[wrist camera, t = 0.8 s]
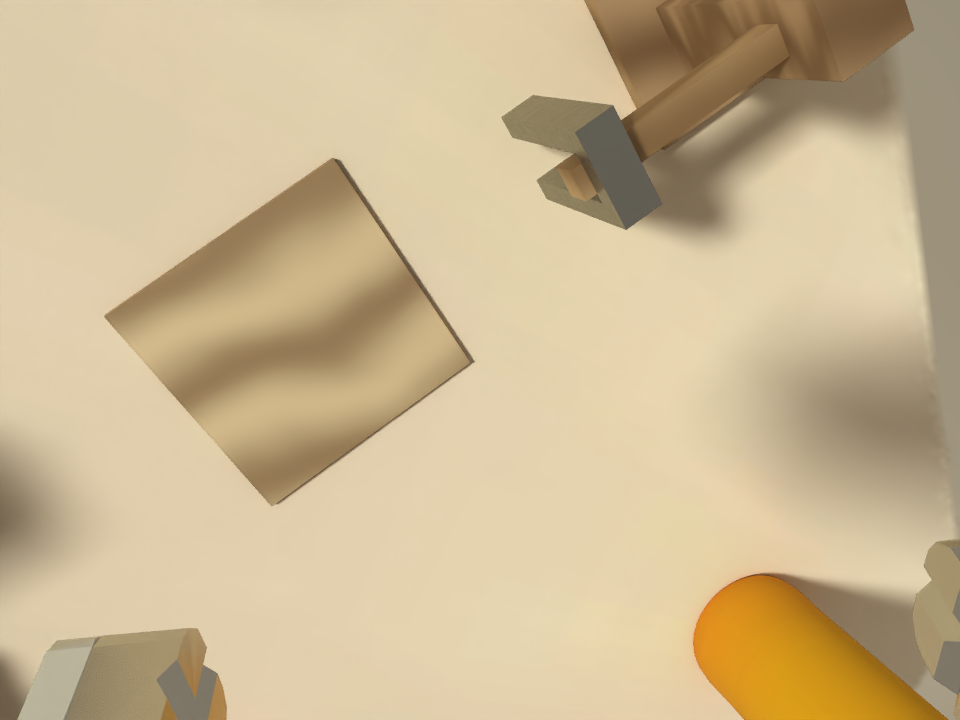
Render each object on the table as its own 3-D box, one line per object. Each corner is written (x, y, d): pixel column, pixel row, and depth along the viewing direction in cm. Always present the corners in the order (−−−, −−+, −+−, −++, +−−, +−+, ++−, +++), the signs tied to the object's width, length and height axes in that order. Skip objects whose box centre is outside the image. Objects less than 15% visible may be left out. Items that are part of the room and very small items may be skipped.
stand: (448, 78, 47) (552, 89, 35) (725, -114, 49) (921, -170, 36) (537, 232, 51) (658, 292, 39) (789, 52, 53) (984, 53, 41)
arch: (501, 117, 45) (574, 132, 37) (532, 95, 46) (613, 105, 38) (547, 199, 48) (625, 229, 40) (577, 177, 48) (662, 204, 40)
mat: (104, 315, 45) (104, 317, 45) (332, 158, 46) (333, 158, 46) (271, 503, 51) (271, 506, 51) (468, 360, 53) (470, 362, 52)
